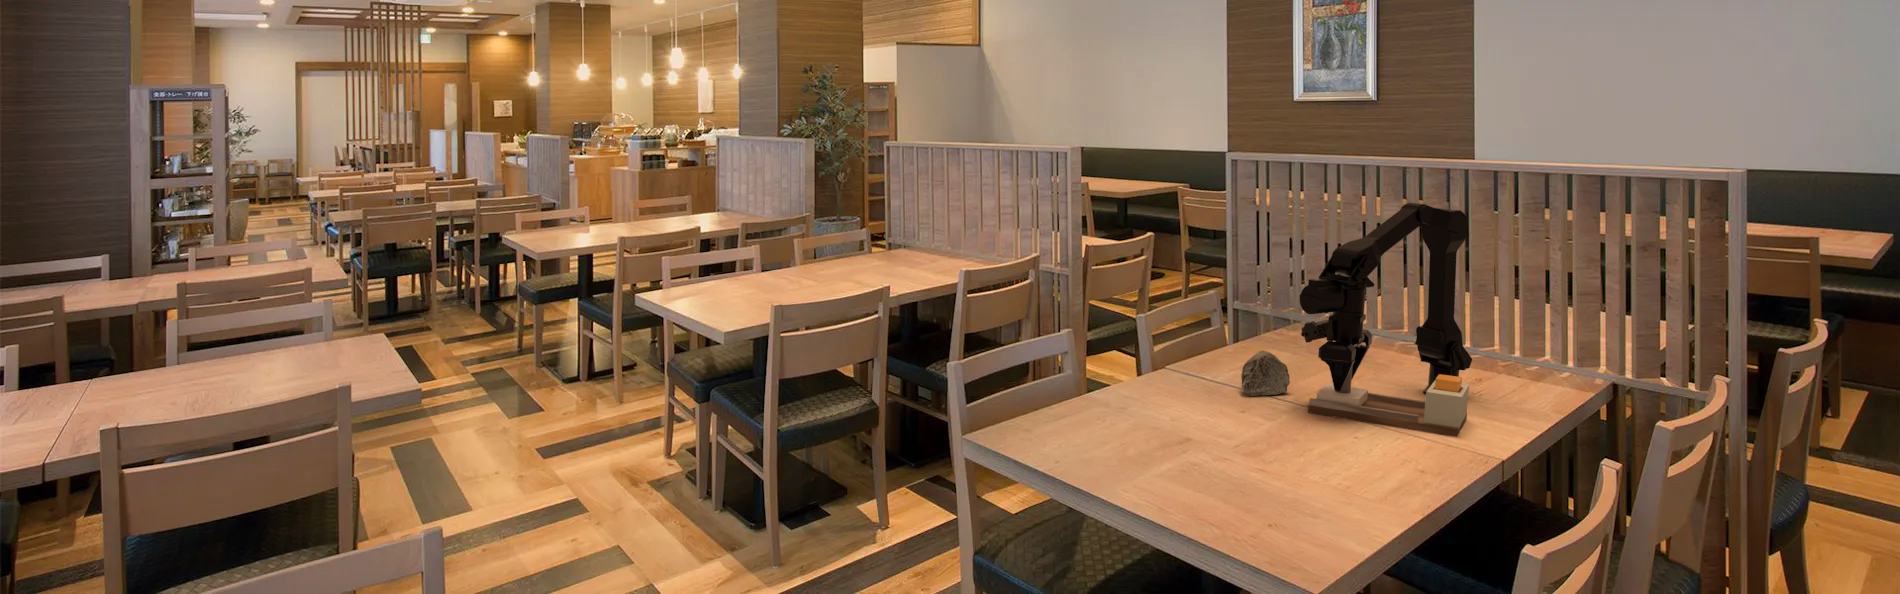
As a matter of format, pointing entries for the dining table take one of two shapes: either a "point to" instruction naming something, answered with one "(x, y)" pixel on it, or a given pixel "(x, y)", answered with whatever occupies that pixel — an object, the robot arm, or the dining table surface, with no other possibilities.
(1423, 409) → the track
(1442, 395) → the button housing
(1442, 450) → the dining table surface
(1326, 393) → the carriage
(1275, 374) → the stone
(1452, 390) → the button
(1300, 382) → the dining table surface
